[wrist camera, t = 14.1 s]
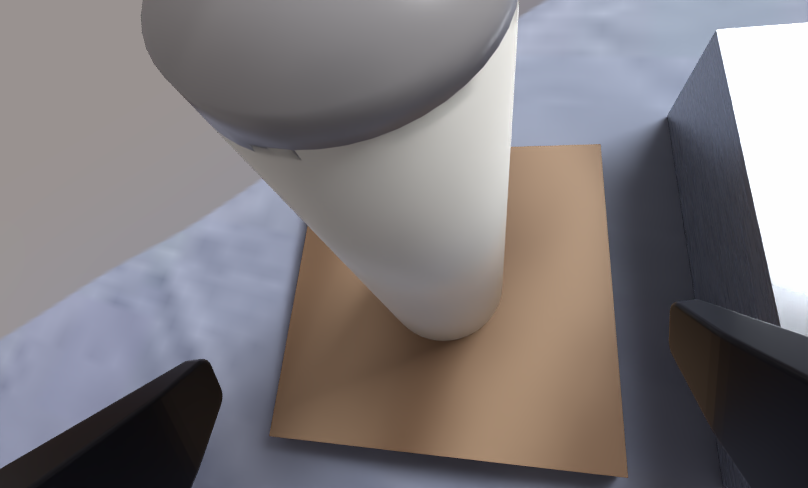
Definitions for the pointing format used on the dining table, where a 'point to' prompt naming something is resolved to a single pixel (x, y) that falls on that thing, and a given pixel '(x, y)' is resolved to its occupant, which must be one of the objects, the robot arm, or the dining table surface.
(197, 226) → the dining table surface
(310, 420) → the pad
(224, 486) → the dining table surface
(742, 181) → the collar
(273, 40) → the dome-capped cylinder
